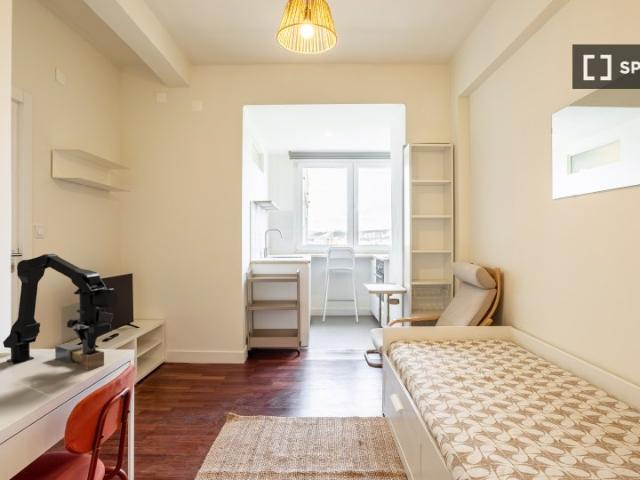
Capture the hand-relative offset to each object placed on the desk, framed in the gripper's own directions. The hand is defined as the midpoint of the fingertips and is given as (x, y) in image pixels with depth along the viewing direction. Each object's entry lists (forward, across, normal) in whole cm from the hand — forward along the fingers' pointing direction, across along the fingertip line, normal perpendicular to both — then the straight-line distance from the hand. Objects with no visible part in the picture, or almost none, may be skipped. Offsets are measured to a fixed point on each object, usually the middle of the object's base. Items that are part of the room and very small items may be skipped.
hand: (89, 347), depth 136 cm
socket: (+7, -2, 0) cm, 7 cm away
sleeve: (+6, +14, 0) cm, 15 cm away
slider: (+6, +5, 0) cm, 7 cm away
